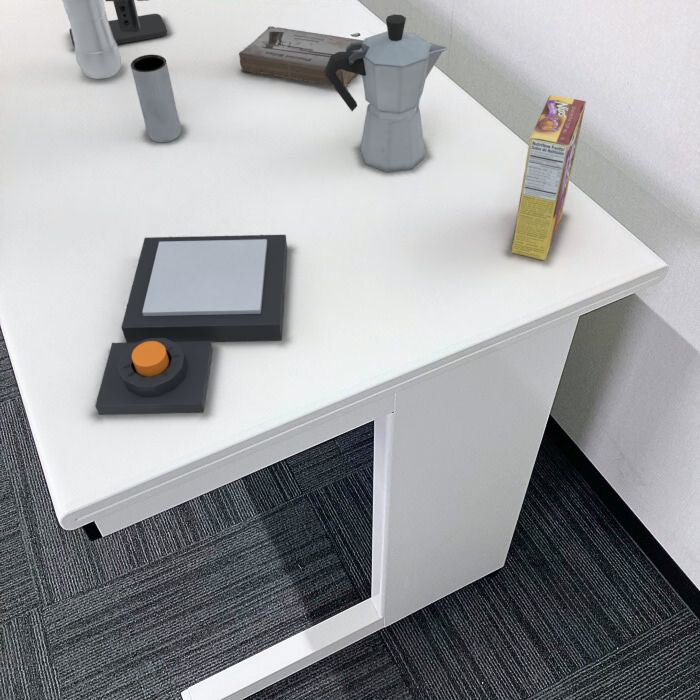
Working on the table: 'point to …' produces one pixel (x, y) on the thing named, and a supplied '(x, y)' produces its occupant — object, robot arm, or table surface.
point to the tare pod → (156, 380)
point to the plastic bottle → (93, 38)
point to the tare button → (150, 358)
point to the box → (295, 55)
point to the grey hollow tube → (156, 97)
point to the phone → (148, 29)
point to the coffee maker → (389, 92)
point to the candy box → (547, 176)
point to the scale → (208, 289)
